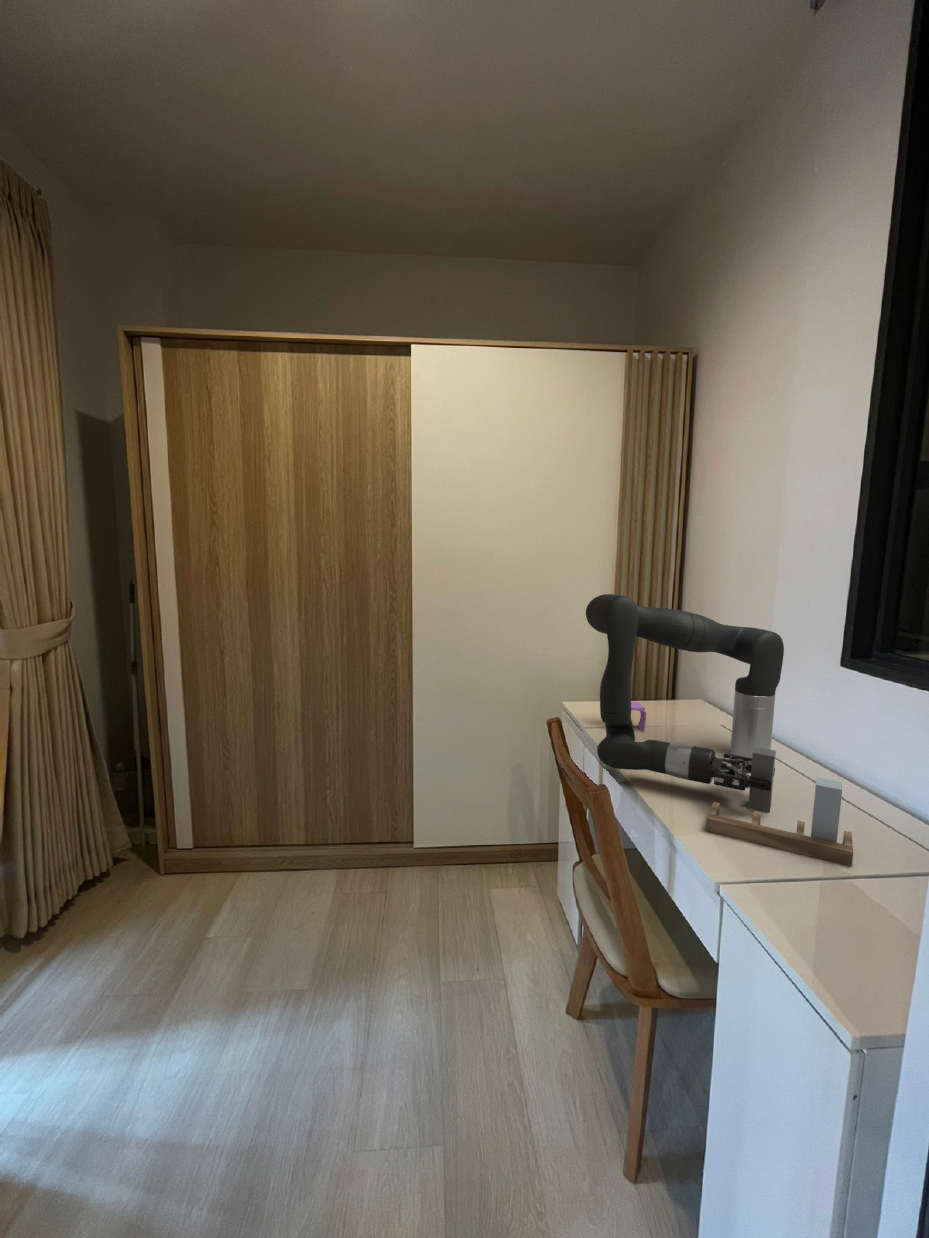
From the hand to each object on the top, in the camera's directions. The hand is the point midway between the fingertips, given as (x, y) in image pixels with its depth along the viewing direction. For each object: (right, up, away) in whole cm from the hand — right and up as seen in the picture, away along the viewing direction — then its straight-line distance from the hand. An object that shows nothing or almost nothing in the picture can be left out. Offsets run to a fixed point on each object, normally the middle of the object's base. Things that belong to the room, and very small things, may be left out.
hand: (772, 778), depth 124 cm
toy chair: (-16, 0, +52) cm, 54 cm away
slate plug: (+2, -9, -14) cm, 16 cm away
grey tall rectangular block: (-2, -6, +2) cm, 7 cm away
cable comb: (-5, -8, -12) cm, 15 cm away
